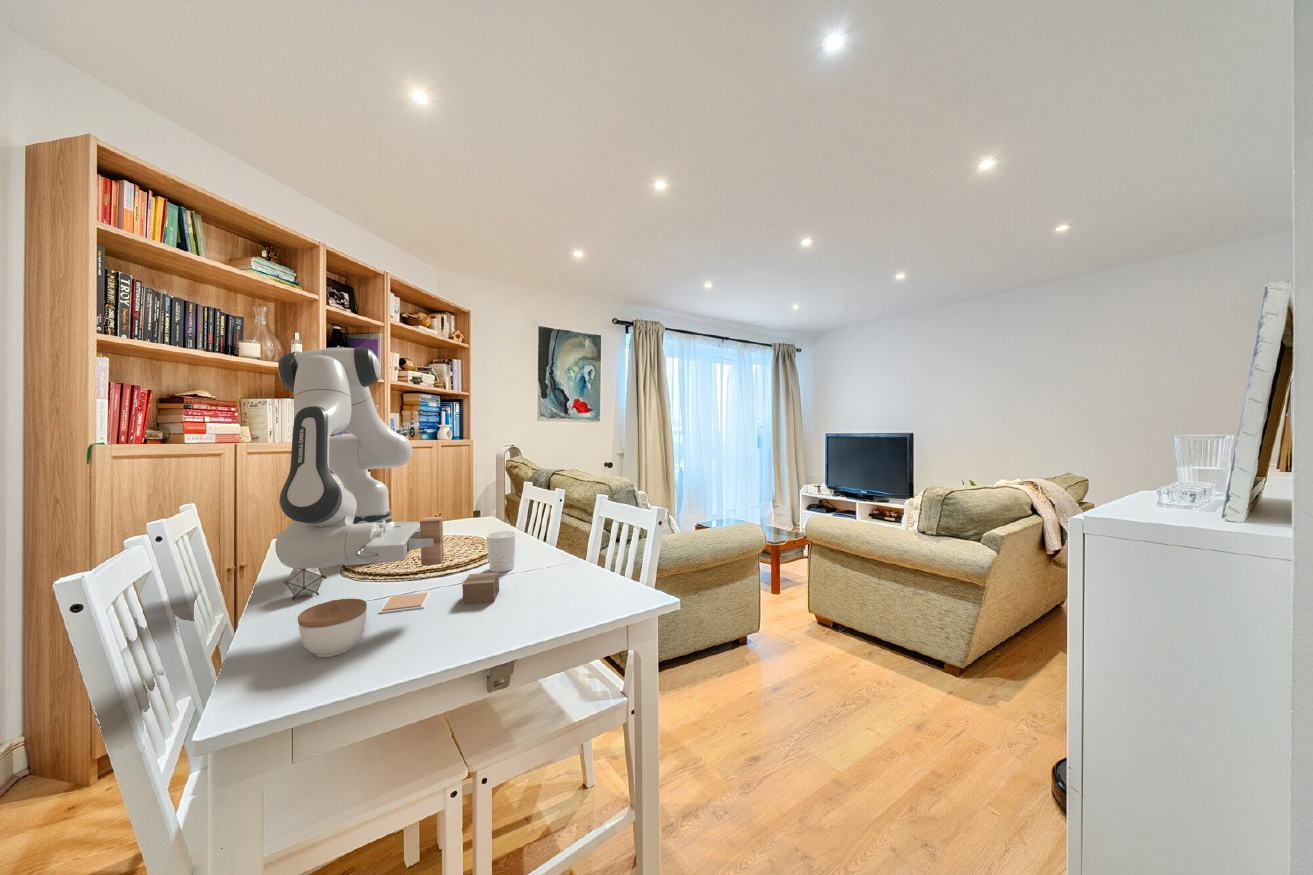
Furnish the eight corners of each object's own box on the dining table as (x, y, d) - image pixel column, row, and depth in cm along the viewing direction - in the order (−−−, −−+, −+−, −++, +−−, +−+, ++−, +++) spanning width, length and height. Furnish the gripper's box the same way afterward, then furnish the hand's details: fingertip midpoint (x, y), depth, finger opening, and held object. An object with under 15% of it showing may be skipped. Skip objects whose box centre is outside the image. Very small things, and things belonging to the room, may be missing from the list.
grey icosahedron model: (297, 611, 114) (270, 580, 113) (331, 588, 121) (306, 559, 120) (304, 602, 109) (276, 569, 108) (340, 579, 116) (314, 548, 115)
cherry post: (424, 560, 107) (423, 517, 106) (443, 558, 108) (442, 516, 107) (421, 565, 103) (419, 521, 102) (441, 564, 104) (439, 520, 104)
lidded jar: (295, 649, 88) (293, 601, 88) (360, 630, 96) (358, 586, 95) (304, 671, 80) (302, 618, 80) (374, 648, 88) (372, 600, 88)
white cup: (481, 571, 131) (480, 536, 131) (499, 563, 139) (498, 530, 138) (504, 574, 129) (503, 539, 128) (521, 565, 136) (520, 532, 136)
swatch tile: (389, 598, 113) (389, 595, 113) (430, 593, 115) (430, 591, 115) (378, 613, 104) (378, 610, 104) (423, 608, 106) (423, 605, 106)
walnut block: (470, 593, 115) (469, 574, 115) (499, 591, 116) (498, 572, 116) (463, 605, 108) (462, 584, 108) (494, 602, 110) (493, 582, 109)
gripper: (350, 542, 91) (427, 536, 95) (379, 518, 111) (442, 514, 115) (351, 573, 92) (428, 566, 96) (380, 544, 111) (443, 539, 115)
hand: (436, 537), depth 105 cm, fingers closed on cherry post, 4 cm apart
